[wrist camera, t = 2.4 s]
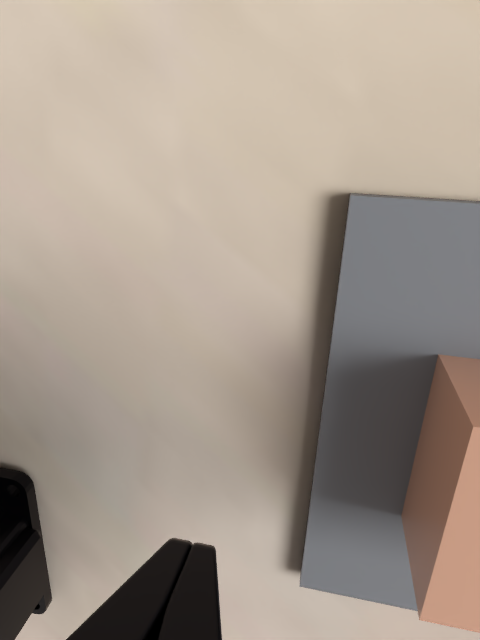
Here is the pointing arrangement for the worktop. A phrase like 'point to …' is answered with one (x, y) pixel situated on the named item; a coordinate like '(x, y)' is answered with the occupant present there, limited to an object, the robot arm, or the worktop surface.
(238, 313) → the worktop surface
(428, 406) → the salmon brown block
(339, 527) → the slate mat
